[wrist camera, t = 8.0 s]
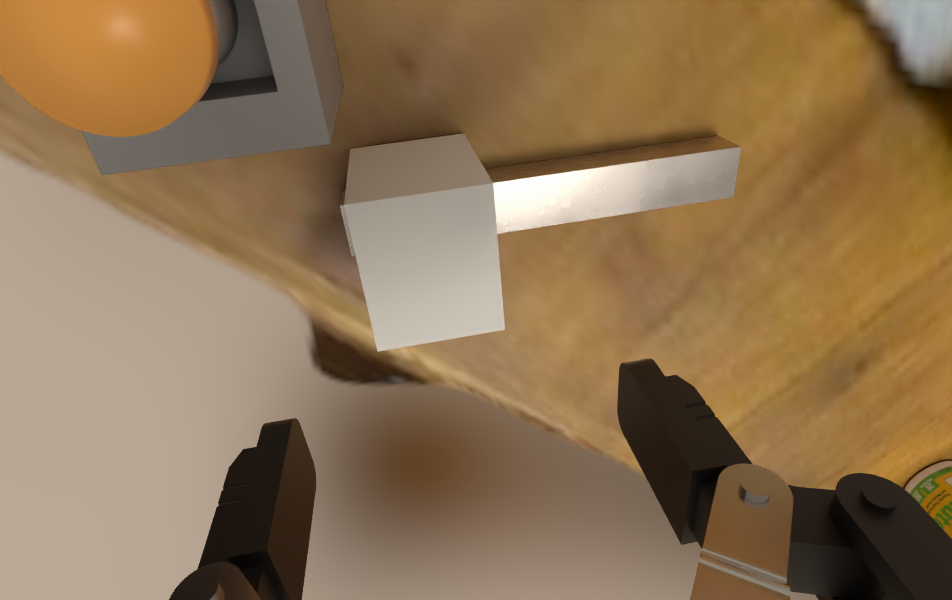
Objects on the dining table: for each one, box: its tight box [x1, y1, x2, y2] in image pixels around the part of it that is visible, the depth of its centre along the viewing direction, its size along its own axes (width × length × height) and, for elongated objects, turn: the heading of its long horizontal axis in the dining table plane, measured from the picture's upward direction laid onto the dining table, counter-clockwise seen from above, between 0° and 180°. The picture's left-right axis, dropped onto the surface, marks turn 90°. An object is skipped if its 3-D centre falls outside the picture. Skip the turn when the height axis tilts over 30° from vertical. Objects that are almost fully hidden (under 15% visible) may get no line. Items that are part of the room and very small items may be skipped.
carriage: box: [344, 133, 505, 351], centre depth 23 cm, size 5×6×7 cm
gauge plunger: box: [0, 0, 238, 137], centre depth 12 cm, size 4×4×5 cm
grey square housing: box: [82, 0, 343, 175], centre depth 17 cm, size 6×7×9 cm
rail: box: [340, 136, 741, 256], centre depth 26 cm, size 18×2×2 cm, turn 96°
